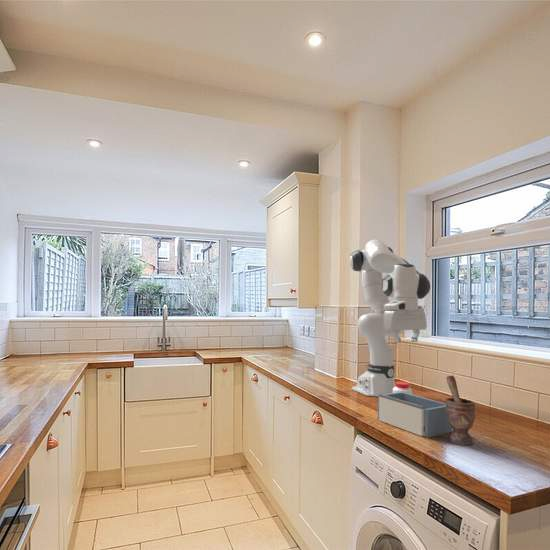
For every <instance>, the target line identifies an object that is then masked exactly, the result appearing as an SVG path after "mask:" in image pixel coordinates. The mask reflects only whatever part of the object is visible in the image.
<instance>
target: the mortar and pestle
mask: <svg viewBox="0 0 550 550" xmlns="http://www.w3.org/2000/svg"><path fill="white" fill-rule="evenodd" d="M446 383H447V385H448V389H449V390H450V393H451V395H452V397H447V398H445V404H446V414H447V419H448V423H449V424H450V425H451V427H452V432H449V434H448V436H447V440H448V441H449V442H451V443H453V444H456V445H459V446H462V447H465V446H471V445H473V444H474V440H473V438H472V436H471V435H470V434H469V431H470V429H471V428H473V426H474V422H475V419H476V418H475V417H476V413H475V411H476V402H475V401H473V400H472V399H471V400H470V399H466V398H461V396H460V394H459V390H458V385H457V384H458V383H457V380H456V378H455V376H453V375H448V376H446Z"/></svg>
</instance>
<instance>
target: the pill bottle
mask: <svg viewBox="0 0 550 550" xmlns="http://www.w3.org/2000/svg"><path fill="white" fill-rule="evenodd" d="M397 392H405V393H408V394H412V395H413V390H412V388H411V387H410V383H409V382H407V381H396V382H395V387H394V388H393V393H397Z"/></svg>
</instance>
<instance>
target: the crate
mask: <svg viewBox="0 0 550 550" xmlns="http://www.w3.org/2000/svg"><path fill="white" fill-rule="evenodd" d="M383 395H386V396H390V397H393V398H396V399H400V400H403V401H407V402H410V403H413V404H417V405H420V406H424V414H425V429H424V437H425V438H427V439H428V438H431V437H436V436H441V435H444V434H448V433H449V434H450V433H452V432H453V428H452V427H451V425H450V424H449V423H448V419H447V414H446V402H441V401H437V400H433V399H430V398H427V397H426V398H425V397H423V396H419V395H416V394H415V395H414V394H413V393H412V394H408V393H405V392H397V393H390V394H383ZM377 420H379V395H378V396H377ZM379 421H380V420H379Z"/></svg>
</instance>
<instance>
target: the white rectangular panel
mask: <svg viewBox="0 0 550 550" xmlns="http://www.w3.org/2000/svg"><path fill="white" fill-rule="evenodd" d="M379 421H380V422H383V423H385V424H388V425H391V426H393V427H396V428H399V429H402V430H404V431H407V432H409V433H412V434H415V435H417V436H421V437H423V436H424V437H425V429H424V406H420V405H417V404H413V403H410V402H407V401H403V400H400V399H396V398H393V397H390V396H386V395H383V394H379Z"/></svg>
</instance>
